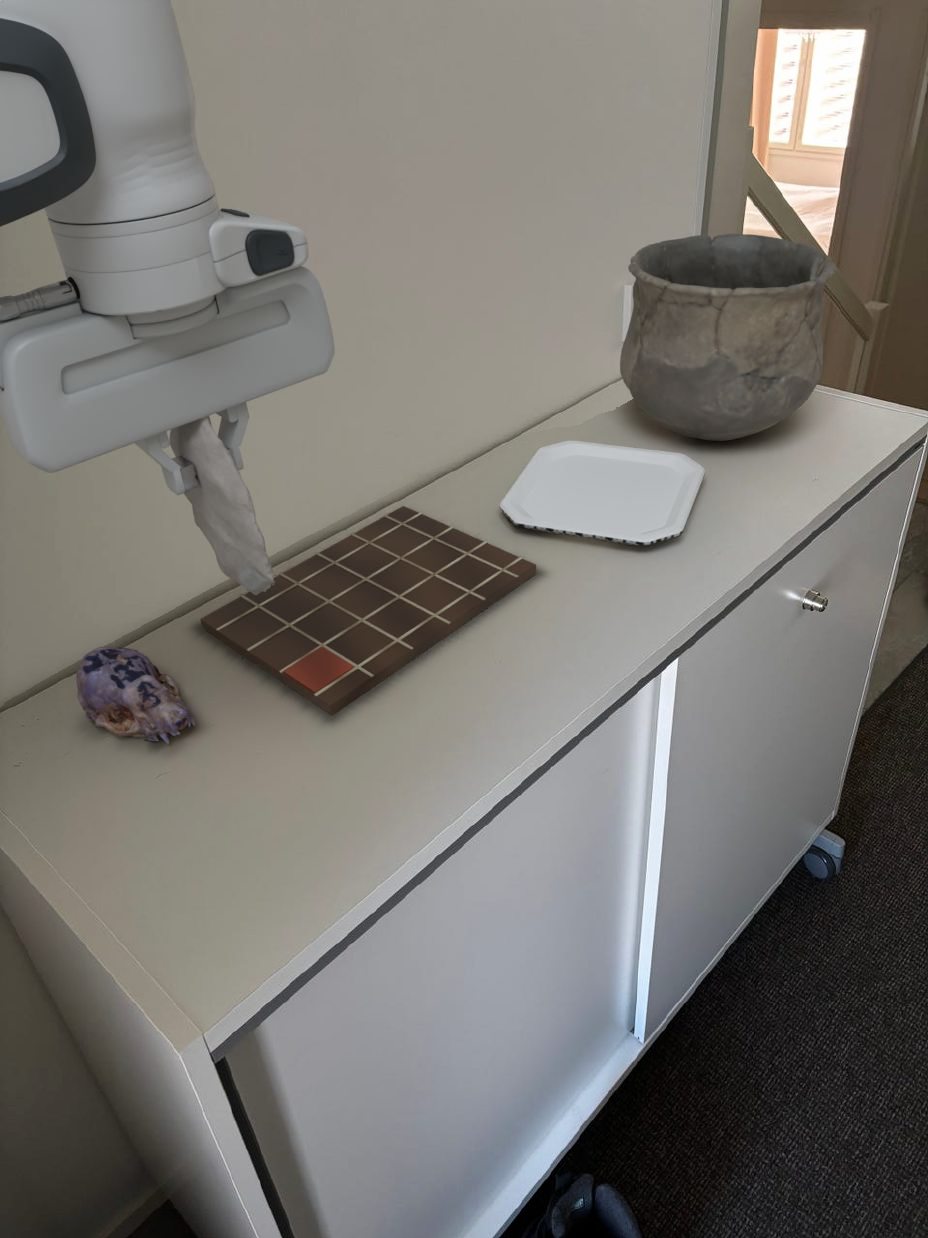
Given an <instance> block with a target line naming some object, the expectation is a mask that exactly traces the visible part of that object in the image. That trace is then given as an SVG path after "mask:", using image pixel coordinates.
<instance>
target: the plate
mask: <svg viewBox="0 0 928 1238" xmlns="http://www.w3.org/2000/svg"><path fill="white" fill-rule="evenodd" d="M705 474H706V469H705V468H704V467H703V466H701V465H700V464H699V463H698V462H696V461H694V460H693V459H692V458H691V457H689V456H687V455H686V454H684V453H680V452H672V451H665V450H664V451H663V450H657V449H649V448H641V447H640V448H639V447H631V446H624V445H623V446H622V445H613V444H605V443H597V442H588V441H579V440H565V441H561V442H557V443H552V444H550V445H545V446H542V447H540V448H538V449H537V450H536V452H535V453H534V454H533V456H532V457H531V459H530V460H529V461H528V463H527V464H526V465H525V467H524V469H523V470H522V471H521V473H520V474H519V476H518V477H517V479H516V480H515V481H514V483H513V484H512V486H511V487H510V488H509V489H508V492H506V494H505V496H503V498H502V500H500V501H501V502H500V503H499V509H500V511H501V512H502V513H503V514H504V515H505V516H506V518H508V519H509V520H510V521H511V523H513V524H514V525H516V526H517V527H521V528H525V529H529V530H534V531H538V532H545V533H550V534H556V535H557V534H558V535H563V536H569V537H576V538H577V537H578V538H583V539H590V540H595V541H601V542H602V541H603V542H608V543H615V544H621V545H628V546H648V545H652V544H656V543H659V542H663V541H665V540H666V541H667V540H669V539H672V538H675V537H679V536H681V534H683V533H684V532H683V531H684V529H685V527H686V524H687V521H688V519H689V516H690V514H691V511H692V508H693V507H694V506H693V505H694V503H695V501H696V499H697V497H698V496H697V495H698V493H699V490H700V488H701V486H702V483H703V480H704V477H705Z"/></svg>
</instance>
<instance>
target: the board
mask: <svg viewBox="0 0 928 1238" xmlns="http://www.w3.org/2000/svg"><path fill="white" fill-rule="evenodd" d="M536 575H537V564H536V563H534V562H532V561H529V560H527V559H524V558H523V557H522V556H518V555H516V554H513V553H511V552H508V551H507V550H504V549H501V548H499V547H497V546H496V545H493V544H491V543H489V542H488V541H486V540H484V541H483V540H481V539H479V538H478V537H475V536H472V535H471V534H468V533H465V532H464V531H461V530H459V529H458V528H455V527H454V526H449V525H448V524H445V523H443V522H441V521H438V520H437V519H435V518H432V517H430V516H427V515H425V514H424V513H422V512H418V511H416V510H414V509H412V508H409V507H407V506H405V505H402V506H400V507H398V508H396V509H395V510H393V511H392V512H389V513H388V514H384V515H383V516H382V517H380V518H379V519H377V520H375V521H373V522H371V523H370V524H368V525H366V526H364V527H362V528H361V529H359V530H357V531H355V532H354V533H350V535H348V536H347V537H345V538H343V539H341V540H339V541H337V542H336V543H334V544H331V545H330V546H328V547H327V548H324V549H323V550H321V551H319V552H316V553H315V554H313V556H311V557H309V558H307V559H305V560H304V561H301V562H300V563H298V564H296V565H295V566H292V567H291V568H289V569H287V570H286V571H284V572H280V573H278V575H275V576H274V581H275V583H274V585H271V587H270V588H268V589H267V590H266V592H263V591H262V592H260V593H259V594H258V595H255V594H253V593H252V592H250V591H248V592H246V593H244V594H240V595H239V596H238V597H237V598H235V599H233V600H231V601H230V602H228V603H226V604H224V605H222V606H221V607H219V608H217V609H215V610H214V611H212V612H210V613H209V614H207V615H204V616H203V617H201V618H200V623H201V626H202V629H203V630H205V631H206V632H208V633H209V634H211V635H212V636H214V638H217V640H219V641H221V642H222V643H224V644H226V645H227V646H229V647H230V648H231V649H233V650H234V651H236V652H237V653H239V654H240V655H242V656H243V657H245V658H246V659H248V660H249V661H250V662H252V663H254V664H255V665H256V666H258V667H260V668H261V669H263V670H264V671H265V672H267V673H268V674H270V675H271V676H272V677H274V678H276V679H277V680H278V681H280V682H281V683H283V684H284V685H286V686H288V687H289V688H291V689H292V690H294V692H297V693H298V695H301V696H303V697H304V698H305V699H307V700H308V701H309V702H311V703H313V704H314V705H316V706H317V707H318V708H320V709H321V710H323V711H324V712H326V713H327V714H329V715H331V716H333V715H335V714H336V713H338V712H339V711H341V710H342V709H343V708H345V707H346V706H348V705H349V704H351V703H352V702H354V701H355V700H357V699H358V698H360V697H361V696H363V694H365V693H366V692H368V691H369V690H371V689H373V688H374V687H375V686H376V685H378V684H379V683H381V682H383V681H384V680H385V679H387V678H388V677H389V676H391V675H393V674H394V673H396V672H397V671H398V670H400V669H401V668H403V667H404V666H406V665H407V664H408V663H410V662H412V661H413V660H414V659H416V658H417V657H418V656H420V655H421V654H423V653H425V652H426V651H427V650H429V649H430V648H432V647H433V646H435V645H436V644H438V643H439V642H441V641H442V640H443V639H444V638H446V637H448V636H449V635H450V634H452V633H454V632H455V631H456V630H458V629H459V628H460V627H462V626H463V625H466V623H468V622H469V621H470V620H472V619H474V618H475V617H477V616H478V615H479V614H480V613H482V612H484V611H485V610H487V609H488V608H489V607H491V606H492V605H493V604H495V603H497V601H500V600H501V599H502V598H503V597H505V596H506V595H508V594H509V593H511V592H512V591H514V590H515V589H517V588H518V587H519V586H521V585H522V584H524V583H526V582H527V581H528V580H530V579H531V578H532V577H534V576H536Z"/></svg>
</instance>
